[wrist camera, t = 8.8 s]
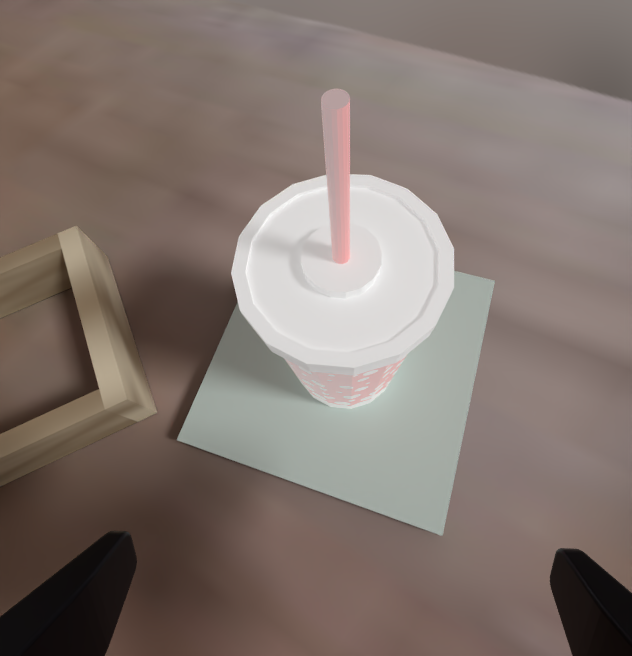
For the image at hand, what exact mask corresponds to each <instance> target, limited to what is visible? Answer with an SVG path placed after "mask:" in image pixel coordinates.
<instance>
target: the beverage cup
mask: <svg viewBox="0 0 632 656" xmlns="http://www.w3.org/2000/svg"><path fill="white" fill-rule="evenodd" d="M321 108H322V122H323V135H324V149H325V163H326V175H324V176H321V177H317V178H313V179H310V180H306V181H303V182H299V183H296V184H292V185H291V186H289V187H288V188H287V189H285V190H284V191H282V192H281V193H279V194H278V195H276V196H275V197H273V198H272V199H270V200H269V201H267V202H266V203H264V204H263V205H261V206H260V208H259V209H258V211H257V212H256V213H255V215H254V216H253V218H252V219H251V220H250V222H249V223H248V225H247V226H246V227H245V229H244V230H243V232H242V233H241V234H240V236H239V239H238V243H237V248H236V253H235V257H234V262H233V267H232V271H231V275H232V279H233V283H234V287H235V292H236V296H237V300H238V304H239V309H240V311H241V313H242V315H243V316H244V317H245V319H246V320H247V321H248V323H249V324H250V325H251V326H252V328H253V329H254V330H255V331H256V333H257V334H258V335H259V336H260V338H261V339H262V340H263V341H264V343H265V344H266V345H267V346H268V348H269V349H270V350H271V351H272V352H273V353H275V354H277V355H279V356H281V357H283V358H284V359H285V360H286V362H287V363H288V364H289V366H290V367H291V369H292V370H293V372H294V373H295V374H296V376H297V377H298V379H299V380H300V381H301V383H302V384H303V385H304V387H305V388H306V389H307V390H308V391H309V393H310V394H311V395H312V396H313V398H315V399H317V400H319V401H321V402H323V403H324V404H326V405H328V406H330V407H337V408H347V409H352V408H355V407H358V406H362V405H365V404H368V403H370V402H372V401H373V400H374V399H375V398H376V397H378V396H379V395H380V394H381V393H382V392H384V391H385V389H386V387H387V386H388V384H389V383H390V381H391V379H392V378H393V376H394V375H395V373H396V371H397V370H398V368H399V367H400V365H401V363H402V362H403V360H404V359H405V357H406V355H407V354H408V353H409V352H410V351H412V350H413V349H414V348H415V347H416V346H418V345H419V344H420V343H421V342H423V341H424V340H425V339H426V338H427V337H429V336H430V334H431V332H432V330H434V328H435V326H436V324H437V322H438V320H439V318H440V316H441V314H442V312H443V310H444V308H445V306H446V303H447V301H448V299H449V297H450V295H451V293H452V291H453V289H454V248H453V246H452V244H451V242H450V239H449V237H448V235H447V233H446V231H445V229H444V227H443V225H442V223H441V221H440V219H439V217H438V215H437V214H436V213H435V212H434V211H433V210H432V209H430V208H429V207H428V206H427V205H426V204H425V203H423V202H422V201H421V200H420V199H419V198H418V197H416V196H415V195H414V194H413V193H412V192H411V191H409V190H408V189H407V188H404V187H401V186H399V185H396V184H393V183H390V182H388V181H385V180H382V179H380V178H377V177H374V176H372V175H355V174H350V96H349V94H348V93H347V92H346V91H345V90H342V89H331V90H328V91H327V92H325V93H324V94H323V95H322V97H321Z"/></svg>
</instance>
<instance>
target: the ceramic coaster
mask: <svg viewBox="0 0 632 656" xmlns="http://www.w3.org/2000/svg"><path fill="white" fill-rule="evenodd" d="M494 283H495V281H494V280H489V279H485V278H481V277H477V276H473V275H469V274H465V273H461V272H457V271H454V289H453V291H452V293H451V295H450V297H449V299H448V301H447V303H446V306H445V308H444V310H443V312H442V314H441V316H440V318H439V320H438V322H437V324H436V326H435V328H434V330H432V332H431V334H430V336H429V337H427V338H426V339H425V340H424V341H423V342H421V343H420V344H419V345H418V346H416V347H415V348H414V349H413V350H412V351H410V352H409V353H408V354H407V355H406V357H405V359H404V360H403V362H402V363H401V365H400V367H399V368H398V370H397V371H396V373H395V375H394V376H393V378H392V379H391V381H390V383H389V384H388V386H387V387H386V389H385V391H384V392H382V393H381V394H380V395H379V396H378V397H376V398H375V399H374V400H373V401H372V402H370V403H368V404H365V405H362V406H358V407H355V408H352V409H347V408H337V407H330V406H328V405H326V404H324V403H323V402H321V401H319V400H317V399H315V398H313V396H312V395H311V394H310V393H309V391H308V390H307V389H306V388H305V387H304V385H303V384H302V383H301V381H300V380H299V379H298V377H297V376H296V374H295V373H294V372H293V370H292V369H291V367H290V366H289V364H288V363H287V362H286V360H285V359H284V358H283V357H281V356H279V355H277V354H275V353H273V352H272V351H271V350H270V349H269V348H268V346H267V345H266V344H265V343H264V341H263V340H262V339H261V338H260V336H259V335H258V334H257V333H256V331H255V330H254V329H253V328H252V326H251V325H250V324H249V323H248V321H247V320H246V319H245V317H244V316H243V315H242V313H241V311H240V309H239V304H238V302H237V304H236V307H235V309H234V311H233V313H232V316H231V318H230V320H229V323H228V325H227V327H226V329H225V332H224V334H223V336H222V338H221V341H220V343H219V345H218V347H217V350H216V352H215V354H214V357H213V359H212V361H211V363H210V366H209V368H208V370H207V372H206V375H205V377H204V379H203V382H202V384H201V386H200V388H199V391H198V393H197V395H196V397H195V400H194V402H193V404H192V406H191V409H190V411H189V413H188V416H187V418H186V420H185V422H184V425H183V427H182V429H181V431H180V434H179V436H178V438H177V440H178V441H181V442H183V443H186V444H189V445H192V446H194V447H197V448H200V449H203V450H206V451H208V452H211V453H214V454H217V455H219V456H222V457H225V458H228V459H231V460H233V461H236V462H239V463H242V464H244V465H247V466H250V467H253V468H255V469H258V470H261V471H264V472H267V473H269V474H272V475H275V476H278V477H280V478H283V479H286V480H289V481H291V482H294V483H297V484H300V485H303V486H305V487H308V488H311V489H314V490H316V491H319V492H322V493H325V494H328V495H330V496H333V497H336V498H339V499H341V500H344V501H347V502H350V503H352V504H355V505H358V506H361V507H364V508H366V509H369V510H372V511H375V512H377V513H380V514H383V515H386V516H389V517H391V518H394V519H397V520H400V521H402V522H405V523H408V524H411V525H413V526H416V527H419V528H422V529H425V530H427V531H430V532H433V533H436V534H438V535H441V536H443V531H444V526H445V521H446V516H447V511H448V506H449V502H450V497H451V492H452V487H453V482H454V477H455V472H456V468H457V463H458V458H459V453H460V448H461V443H462V438H463V434H464V429H465V424H466V419H467V414H468V409H469V404H470V400H471V395H472V390H473V385H474V380H475V375H476V370H477V366H478V361H479V356H480V351H481V346H482V341H483V336H484V332H485V327H486V322H487V317H488V312H489V307H490V302H491V297H492V293H493V288H494Z"/></svg>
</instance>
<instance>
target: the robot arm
mask: <svg viewBox="0 0 632 656" xmlns="http://www.w3.org/2000/svg"><path fill="white" fill-rule="evenodd" d="M136 564H137V558H136V553H135V549H134V546H133V542H132V538H131V535H130V533H129V532H126V531H110V532H108V533H107V534H105V535H104V536H103V537H101V538H100V539H99V540H98V541H96V542H95V543H94V544H92V545H91V546H90V547H89V548H87V549H86V550H85V551H83V552H82V553H81V554H80V555H78V556H77V557H76V558H75V559H73V560H72V561H71V562H69V563H68V564H67V565H66V566H64V567H63V568H62V569H61V570H59V571H58V572H57V573H55V574H54V575H53V576H52V577H50V578H49V579H48V580H46V581H45V582H44V583H43V584H41V585H40V586H39V587H38V588H36V589H35V590H34V591H32V592H31V593H30V594H29V595H27V596H26V597H25V598H23V599H22V600H21V601H20V602H18V603H17V604H16V605H15V606H13V607H12V608H11V609H9V610H8V611H7V612H6V613H4V614H3V615H2V616H0V656H105V654H106V651H107V649H108V647H109V644H110V641H111V639H112V636H113V633H114V630H115V627H116V624H117V622H118V619H119V616H120V613H121V610H122V607H123V604H124V601H125V599H126V596H127V593H128V590H129V587H130V584H131V581H132V578H133V575H134V573H135V569H136ZM550 585H551V590H552V593H553V596H554V599H555V602H556V605H557V609H558V612H559V615H560V618H561V621H562V624H563V627H564V630H565V634H566V637H567V640H568V643H569V646H570V649H571V652H572V655H573V656H632V593H631V592H630V591H629V590H628V589H626V588H625V587H624V586H623V585H622V584H620V583H619V582H618V581H617V580H616V579H615V578H613V577H612V576H611V575H610V574H609V573H608V572H606V571H605V570H604V569H603V568H602V567H601V566H599V565H598V564H597V563H596V562H595V561H594V560H592V559H591V558H590V557H589V556H588V555H586V554H585V553H584V552H583V551H581V550H579V549H567V548H560V549H558V550H557V551H556V554H555V558H554V562H553V566H552V570H551V574H550Z"/></svg>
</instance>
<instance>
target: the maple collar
mask: <svg viewBox="0 0 632 656" xmlns="http://www.w3.org/2000/svg"><path fill="white" fill-rule="evenodd" d="M70 288H72V289H73V293H74V297H75V300H76V304H77V308H78V312H79V315H80V319H81V323H82V326H83V330H84V334H85V338H86V341H87V345H88V349H89V352H90V356H91V360H92V364H93V367H94V371H95V375H96V379H97V382H98V386H99V389H98V390H96V391H93V392H91V393H89V394H87V395H85V396H82V397H80V398H78V399H76V400H74V401H72V402H69V403H67V404H65V405H63V406H61V407H58V408H56V409H54V410H52V411H50V412H48V413H45V414H43V415H41V416H39V417H37V418H34V419H32V420H30V421H28V422H26V423H24V424H21V425H19V426H17V427H15V428H13V429H10V430H8V431H6V432H4V433H2V434H0V487H1V486H3V485H5V484H7V483H9V482H11V481H13V480H15V479H18V478H20V477H22V476H24V475H26V474H28V473H30V472H32V471H35V470H37V469H39V468H41V467H43V466H45V465H47V464H49V463H52V462H54V461H56V460H58V459H60V458H62V457H64V456H66V455H69V454H71V453H73V452H75V451H77V450H79V449H81V448H83V447H85V446H88V445H90V444H92V443H94V442H96V441H98V440H100V439H102V438H105V437H107V436H109V435H111V434H113V433H115V432H117V431H119V430H122V429H124V428H126V427H128V426H130V425H132V424H134V423H136V422H139V421H141V420H143V419H145V418H147V417H149V416H151V415H153V414H156V413H157V410H156V407H155V404H154V401H153V398H152V394H151V391H150V388H149V385H148V382H147V379H146V376H145V372H144V369H143V366H142V363H141V360H140V357H139V354H138V351H137V347H136V344H135V341H134V338H133V335H132V332H131V329H130V326H129V322H128V319H127V316H126V313H125V310H124V307H123V304H122V300H121V297H120V294H119V291H118V288H117V285H116V282H115V279H114V275H113V272H112V269H111V266H110V263H109V260H108V257H107V256H106V255H105V254H104V253H103V252H102V251H101V250H100V249H99V248H98V247H97V246H96V245H95V244H94V243H93V242H92V241H91V240H90V239H89V238H88V237H87V236H86V235H85V234H84V233H83V232H82V231H81V230H80V229H79V228H78V227H77V226H75V227H72V228H70V229H67V230H65V231H63V232H60V233H58V234H55V235H53V236H50V237H48V238H46V239H43V240H41V241H38V242H36V243H34V244H31V245H29V246H26V247H24V248H22V249H19V250H17V251H14V252H12V253H9V254H7V255H5V256H2V257H0V318H2V317H5V316H7V315H9V314H12V313H14V312H16V311H19V310H21V309H23V308H26V307H28V306H30V305H33V304H35V303H37V302H39V301H42V300H44V299H46V298H49V297H51V296H53V295H56V294H58V293H60V292H63V291H65V290H67V289H70Z"/></svg>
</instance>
